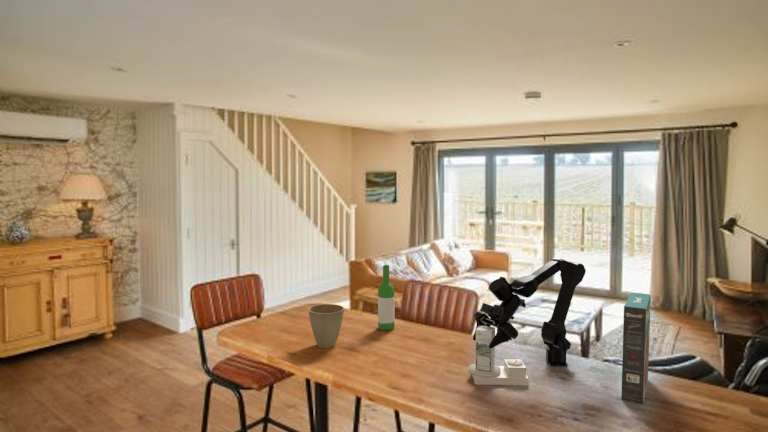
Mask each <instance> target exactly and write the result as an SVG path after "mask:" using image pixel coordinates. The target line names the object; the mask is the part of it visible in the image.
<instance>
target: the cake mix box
mask: <svg viewBox="0 0 768 432" xmlns="http://www.w3.org/2000/svg"><path fill="white" fill-rule="evenodd" d="M651 295H652V294H650V293H649V294H646V293H637V292H630V294H629V296H628V297H627V300H626V302H625V304H624V306H623V328H622V329H623V330H622V332H623V333H622V334H623V335H622V361H621V362H622V365H621V369H622V372H621V401H625V402H631V403H634V404H638V405H639V404H640V405H644V400H645V396H646V390H647V387H648V386H647V385H648V382H649V366H650V365H649V359H650V332H651V331H650V327H651V299H652V297H651Z"/></svg>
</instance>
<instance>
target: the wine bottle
mask: <svg viewBox="0 0 768 432" xmlns="http://www.w3.org/2000/svg"><path fill="white" fill-rule="evenodd" d="M395 317H396V316H395V287H394V286H393V284H392V283H391V282H390V265H387V264H384V265H383V266H382V283H380V285H379V286H378V289H377V325H378V326H377V327H378V329H379V330H382V331H392V330H394V329H395V324H396V323H395Z"/></svg>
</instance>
